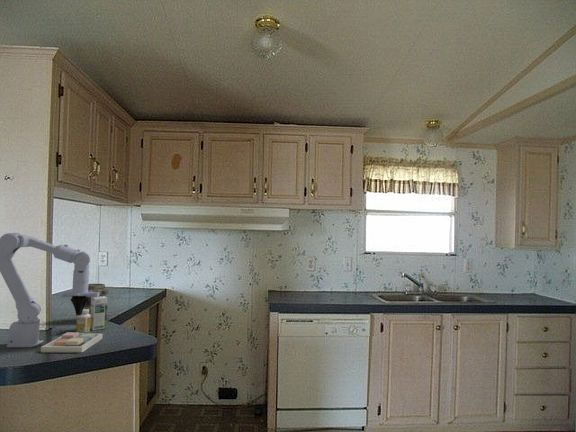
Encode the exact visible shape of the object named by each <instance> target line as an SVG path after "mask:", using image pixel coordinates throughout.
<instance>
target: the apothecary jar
mask: <svg viewBox="0 0 576 432" xmlns="http://www.w3.org/2000/svg"><path fill="white" fill-rule="evenodd" d="M88 292H99V296H107V295H108V293H109V290H108V289H107V288H106V284H105V283H88ZM82 296H84V295H82ZM83 309H89V313H88V314H90V313H91V297H89V299H88V300H87V302H86V304H85V306H84V308H83Z"/></svg>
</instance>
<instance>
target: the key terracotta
mask: <svg viewBox="0 0 576 432" xmlns="http://www.w3.org/2000/svg"><path fill="white" fill-rule="evenodd" d="M67 340H69V339H59V340H58V341H56V342H54V346H64V345H65V344H66V341H67Z"/></svg>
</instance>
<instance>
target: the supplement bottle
mask: <svg viewBox="0 0 576 432" xmlns="http://www.w3.org/2000/svg"><path fill="white" fill-rule="evenodd" d="M88 313H89V309H83V311H82V315H76V324H75V325H76V327H75V332H79V333H88V332H90V330H91V328H90V314H88Z"/></svg>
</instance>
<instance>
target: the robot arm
mask: <svg viewBox="0 0 576 432" xmlns="http://www.w3.org/2000/svg"><path fill="white" fill-rule="evenodd" d="M28 247H32V248H34V249H38V250H41V251H44V252H46V253H51V254H52V255H53V257H54V258H55V259H57V260H60V261H64V262H66V263H69V264H72V263H73V264H74V266H73V267H74V269H73V273H72V275H73V276H72V287H71V289H72V291H60V294H59V295H60V298H70V301H71V304H72V305H73V308H74V311H75V315H76V316H77V315H82V311H83V308H84V306H85V304H86V302H87V300H88V299H89V297H95V298H98V297H99V292H88V284H90V283H89V279H90V261H91V257H90V254H89V253H87V252H85V251H81V249H79V248H78V249H75V248H72V247H69V244H59V245H54V244H52V243H49V242H46V241H43V240H42V239H38V238H36V237H33V236H31V235H26V234H22V233H21V234H20V233H18V232H11V233H10V232H8V233H4V234H3V235H1V237H0V274H1V276H2V278H3V281H4V282H5V285H6V286H7V288H8V291H9V293H10V294H11V295H12V298H13V299H14V301H15V302H14V303H15V307H16V310H17V311H16V312H17V319H18V320H17V321H13V322H12V323H11V324H10V326H9V329H8V339H7V345H6V348H33V347H36V346H38V345H40V344H41V343H44V340H43V339H42V340H40V339H39V338H40V325H41V323H40V322H41V319H40V317H39V315H40V313H41V310H42V309H41V308H42V307H41V306H40V304H39V303H37V302H36V301H35V300H34V298H33V297H32V295H30V293H29V291H28V288H27V286H25V284H24V281H23V279H22V277H21V275H20V273H19V271H18V269H17V267H16V265H15V263H14V261H13V260H12V258H13V257H14V255H15V254H16V252H17V251H18V250H19V249H20V248H28ZM83 295H84V296H83Z"/></svg>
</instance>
